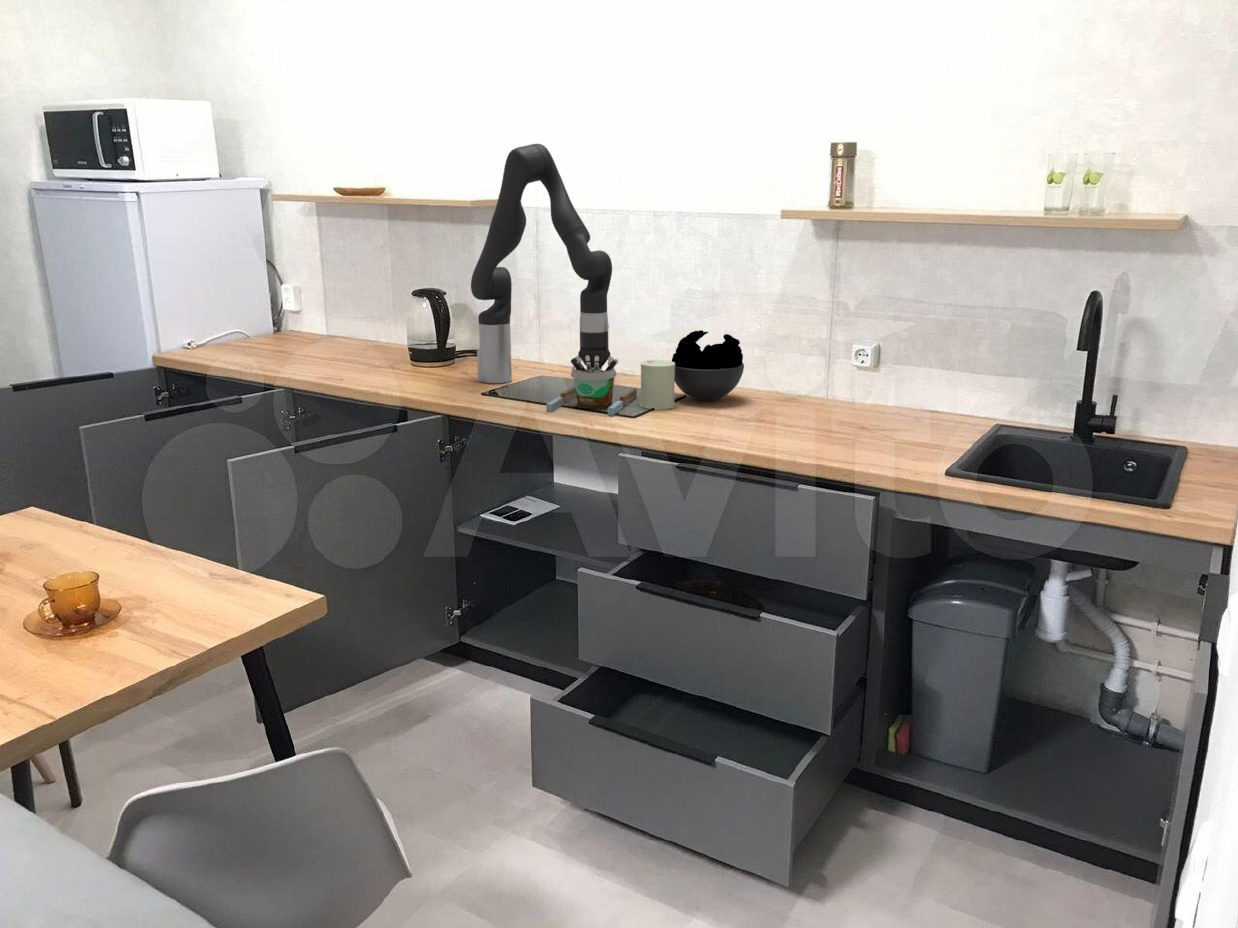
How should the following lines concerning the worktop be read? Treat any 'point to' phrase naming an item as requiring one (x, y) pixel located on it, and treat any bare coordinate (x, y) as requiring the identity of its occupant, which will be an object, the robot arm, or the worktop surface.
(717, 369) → the coal bowl
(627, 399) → the walnut channel
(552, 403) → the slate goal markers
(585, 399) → the food container
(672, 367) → the can
